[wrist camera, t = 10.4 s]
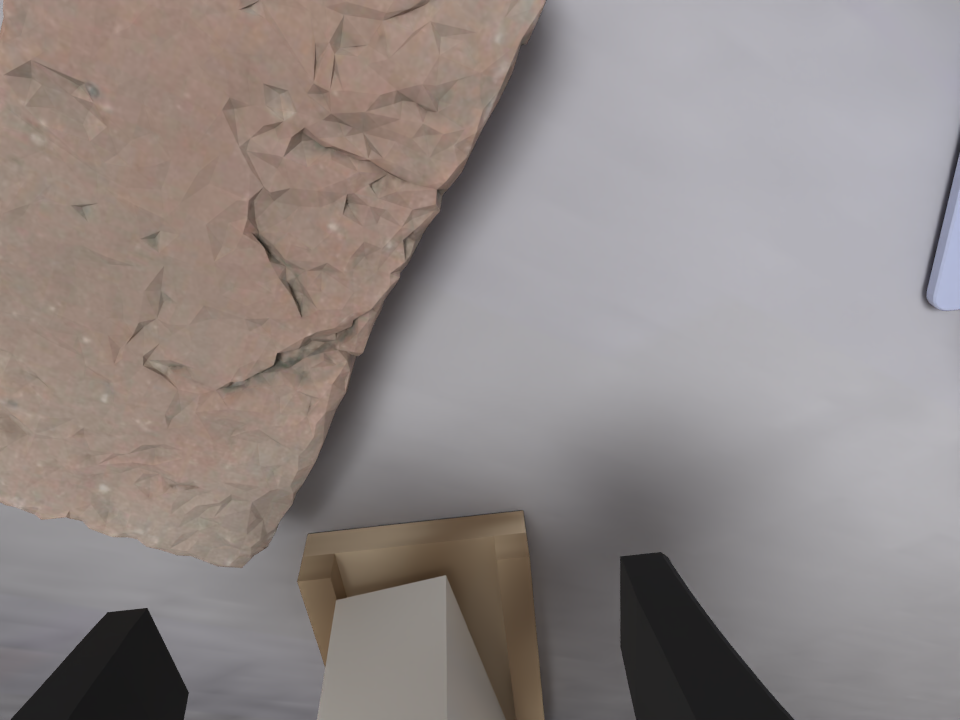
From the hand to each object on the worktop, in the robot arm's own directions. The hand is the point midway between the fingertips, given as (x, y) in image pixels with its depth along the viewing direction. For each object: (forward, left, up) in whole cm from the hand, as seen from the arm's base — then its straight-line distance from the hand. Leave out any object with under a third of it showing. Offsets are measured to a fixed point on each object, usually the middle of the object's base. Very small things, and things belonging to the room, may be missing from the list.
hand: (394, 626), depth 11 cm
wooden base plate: (+1, +13, -10) cm, 16 cm away
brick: (+4, -4, -10) cm, 12 cm away
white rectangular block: (+1, +13, -8) cm, 15 cm away
